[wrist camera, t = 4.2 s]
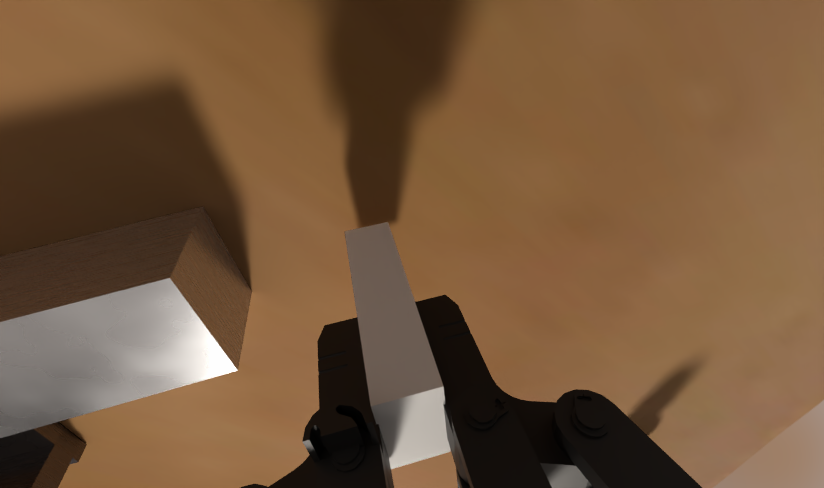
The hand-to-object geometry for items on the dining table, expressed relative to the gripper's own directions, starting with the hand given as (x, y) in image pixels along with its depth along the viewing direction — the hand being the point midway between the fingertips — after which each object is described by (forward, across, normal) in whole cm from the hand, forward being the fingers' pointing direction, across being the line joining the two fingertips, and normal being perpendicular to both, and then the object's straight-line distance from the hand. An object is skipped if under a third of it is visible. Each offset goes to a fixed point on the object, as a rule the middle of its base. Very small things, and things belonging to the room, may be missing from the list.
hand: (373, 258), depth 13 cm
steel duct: (+2, -12, 0) cm, 12 cm away
